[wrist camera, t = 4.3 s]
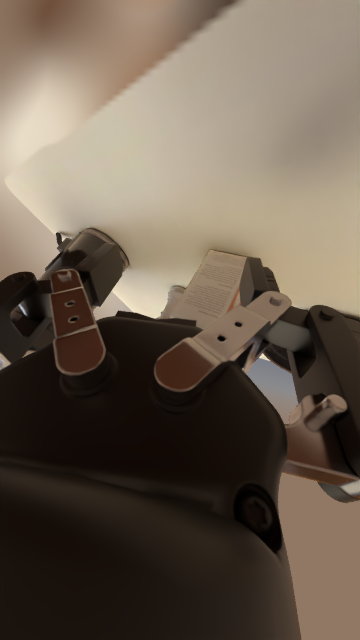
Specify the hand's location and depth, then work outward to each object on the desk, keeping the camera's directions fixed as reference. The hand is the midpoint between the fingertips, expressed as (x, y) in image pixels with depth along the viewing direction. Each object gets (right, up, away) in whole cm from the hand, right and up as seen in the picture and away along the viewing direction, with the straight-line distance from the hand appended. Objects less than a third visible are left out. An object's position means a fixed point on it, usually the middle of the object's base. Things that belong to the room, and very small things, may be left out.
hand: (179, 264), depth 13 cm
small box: (+7, +3, +15) cm, 16 cm away
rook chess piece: (0, +2, +26) cm, 26 cm away
